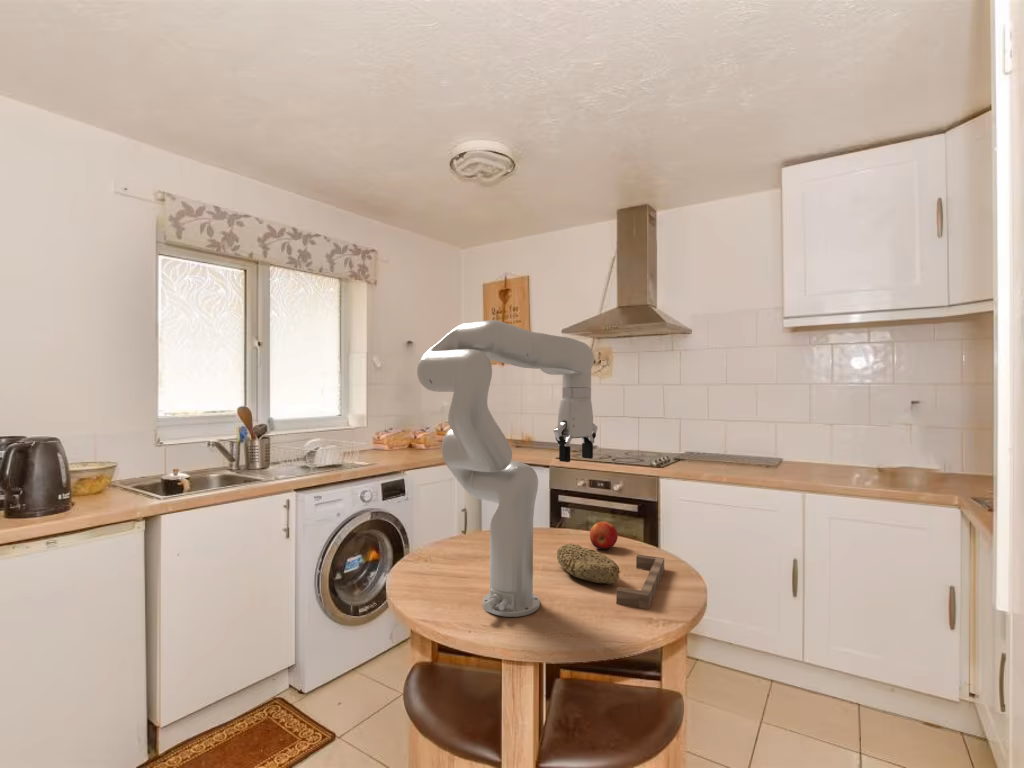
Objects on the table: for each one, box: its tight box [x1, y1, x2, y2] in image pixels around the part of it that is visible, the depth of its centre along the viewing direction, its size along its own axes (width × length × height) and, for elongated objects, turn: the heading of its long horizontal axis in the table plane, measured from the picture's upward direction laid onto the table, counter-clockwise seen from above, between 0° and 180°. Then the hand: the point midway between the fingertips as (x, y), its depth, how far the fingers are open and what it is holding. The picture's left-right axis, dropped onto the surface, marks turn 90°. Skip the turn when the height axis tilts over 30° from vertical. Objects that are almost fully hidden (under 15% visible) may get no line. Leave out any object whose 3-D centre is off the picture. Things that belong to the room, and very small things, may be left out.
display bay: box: [615, 554, 665, 610], centre depth 124 cm, size 27×7×3 cm, turn 156°
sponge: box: [556, 543, 621, 585], centre depth 130 cm, size 13×8×20 cm
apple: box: [589, 520, 619, 551], centre depth 152 cm, size 8×8×8 cm
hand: (576, 459), depth 133 cm, fingers open, 9 cm apart
